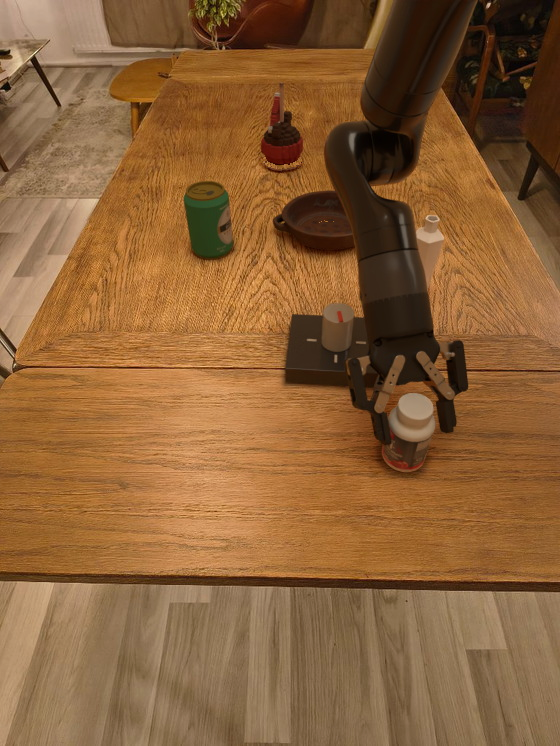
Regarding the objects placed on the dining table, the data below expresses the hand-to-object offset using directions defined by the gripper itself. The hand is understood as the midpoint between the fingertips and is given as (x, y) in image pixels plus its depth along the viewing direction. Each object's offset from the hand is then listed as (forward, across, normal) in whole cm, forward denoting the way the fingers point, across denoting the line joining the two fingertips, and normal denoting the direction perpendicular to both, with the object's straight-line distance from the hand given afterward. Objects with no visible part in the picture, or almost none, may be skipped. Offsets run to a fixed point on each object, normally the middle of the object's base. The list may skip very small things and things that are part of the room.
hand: (417, 437), depth 59 cm
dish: (-34, +6, +43) cm, 55 cm away
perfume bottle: (-18, +14, +26) cm, 35 cm away
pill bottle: (+3, 0, +6) cm, 6 cm away
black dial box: (-11, -3, +19) cm, 22 cm away
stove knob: (-13, -3, +17) cm, 21 cm away
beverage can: (-35, -17, +43) cm, 58 cm away
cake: (-58, +4, +67) cm, 88 cm away
